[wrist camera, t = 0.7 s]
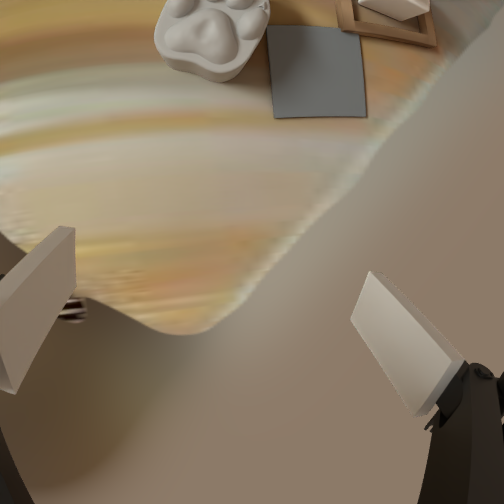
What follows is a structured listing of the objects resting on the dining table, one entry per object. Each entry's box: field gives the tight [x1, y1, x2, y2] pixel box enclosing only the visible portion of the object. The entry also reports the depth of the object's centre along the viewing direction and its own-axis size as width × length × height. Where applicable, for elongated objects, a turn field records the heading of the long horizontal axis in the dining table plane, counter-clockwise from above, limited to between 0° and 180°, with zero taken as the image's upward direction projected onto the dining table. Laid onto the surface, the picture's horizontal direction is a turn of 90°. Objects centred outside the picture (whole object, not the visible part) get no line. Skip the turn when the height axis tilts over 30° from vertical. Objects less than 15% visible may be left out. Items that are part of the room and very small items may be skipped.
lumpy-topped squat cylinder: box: [154, 0, 270, 83], centre depth 26 cm, size 10×13×9 cm
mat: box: [266, 25, 366, 118], centre depth 34 cm, size 12×12×1 cm
